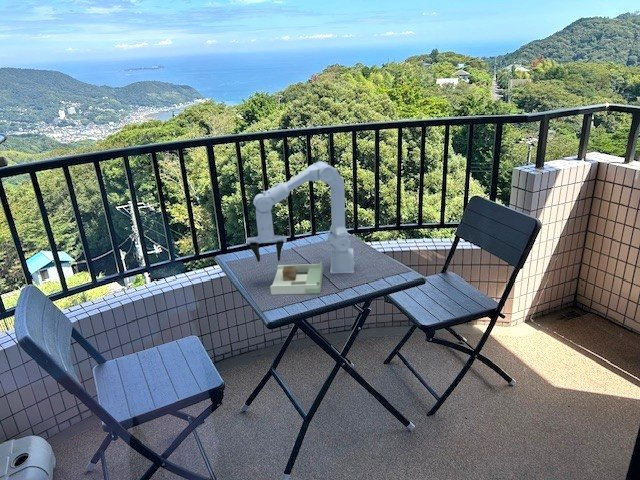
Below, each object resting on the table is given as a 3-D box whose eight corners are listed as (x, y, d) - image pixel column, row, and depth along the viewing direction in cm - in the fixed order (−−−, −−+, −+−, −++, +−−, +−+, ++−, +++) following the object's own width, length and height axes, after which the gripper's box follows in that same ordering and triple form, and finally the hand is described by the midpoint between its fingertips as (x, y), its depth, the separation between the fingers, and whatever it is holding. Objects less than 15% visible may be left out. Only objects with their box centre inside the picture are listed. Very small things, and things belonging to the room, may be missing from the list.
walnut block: (296, 275, 170) (295, 266, 168) (295, 280, 166) (294, 271, 164) (284, 275, 170) (284, 266, 169) (283, 281, 166) (282, 271, 165)
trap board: (322, 271, 176) (322, 261, 174) (320, 293, 159) (319, 282, 158) (278, 273, 178) (277, 262, 176) (271, 294, 161) (269, 283, 159)
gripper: (285, 222, 165) (289, 255, 170) (247, 223, 166) (251, 256, 171) (283, 228, 158) (287, 262, 163) (244, 230, 159) (248, 264, 164)
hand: (269, 260), depth 166 cm, fingers open, 7 cm apart
